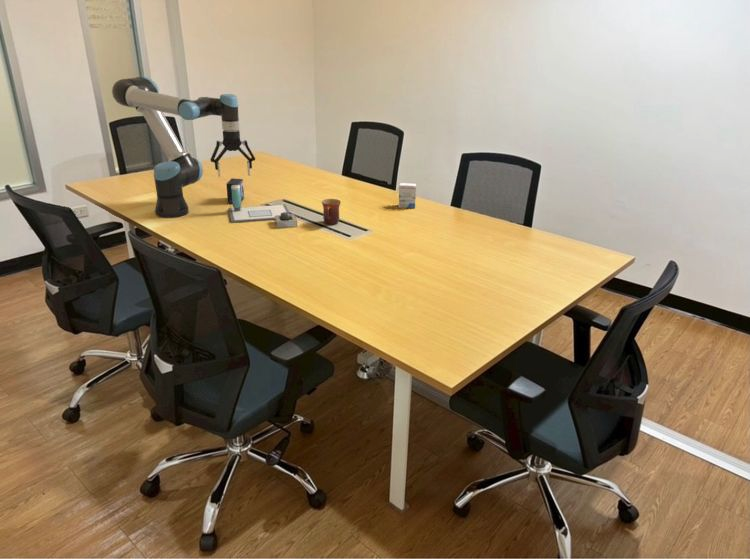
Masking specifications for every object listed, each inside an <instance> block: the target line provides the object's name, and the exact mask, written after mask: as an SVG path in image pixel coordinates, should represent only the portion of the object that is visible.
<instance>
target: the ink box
mask: <svg viewBox="0 0 750 559" xmlns="http://www.w3.org/2000/svg"><path fill="white" fill-rule="evenodd" d="M416 198H417V183H404V182H400V183H399V187H398V205H397V206H398V208H400V209H401V208H402V209H416Z"/></svg>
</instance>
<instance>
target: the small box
mask: <svg viewBox="0 0 750 559" xmlns="http://www.w3.org/2000/svg"><path fill="white" fill-rule="evenodd" d="M225 185H226V193H227V194H226V196H227V199H226V200H227V204H231V205H233V202H232V190H231V186H232V185H240V194H241V202H242V201H243V200H244V199H245V191H244V190H245V189H244V179H243V178H231V179H229V181H227V183H226V184H225Z"/></svg>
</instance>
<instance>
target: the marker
mask: <svg viewBox="0 0 750 559" xmlns="http://www.w3.org/2000/svg"><path fill="white" fill-rule="evenodd" d="M231 190H232V202H233V204H232V208H234V211H241V208H240V207H242V201H241V194H240V185H232V186H231Z"/></svg>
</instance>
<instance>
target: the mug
mask: <svg viewBox="0 0 750 559" xmlns="http://www.w3.org/2000/svg"><path fill="white" fill-rule="evenodd" d="M341 203H342V201H341V200H339V199H336V198H325V199H323V200H321V204H322V208H323V212H322V214H323V215H322V216H323V217H322V220H323V222H324V223H325V224H326V225H331V226H333V225H337V224H338V223H339V222H340V206H341Z"/></svg>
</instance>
